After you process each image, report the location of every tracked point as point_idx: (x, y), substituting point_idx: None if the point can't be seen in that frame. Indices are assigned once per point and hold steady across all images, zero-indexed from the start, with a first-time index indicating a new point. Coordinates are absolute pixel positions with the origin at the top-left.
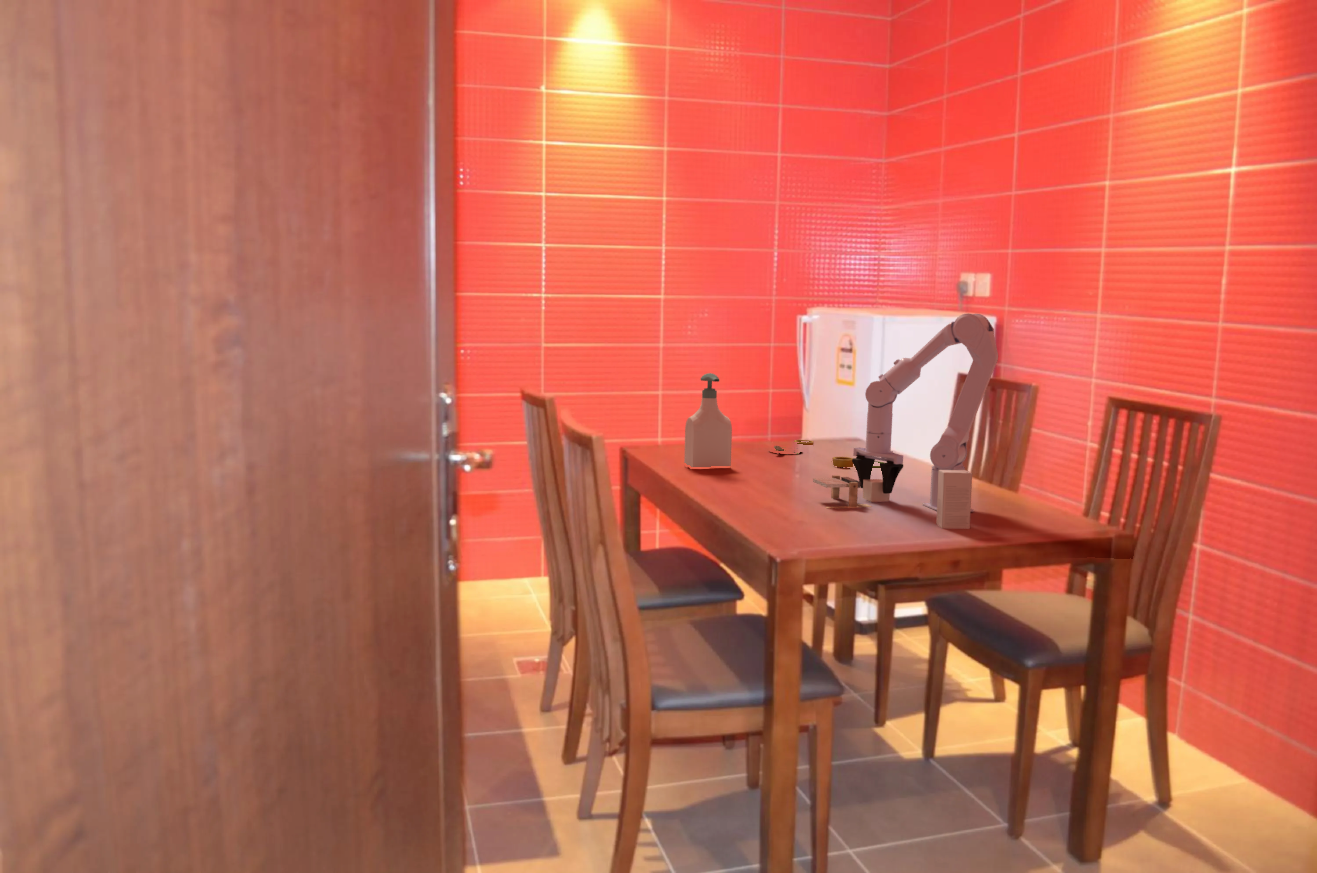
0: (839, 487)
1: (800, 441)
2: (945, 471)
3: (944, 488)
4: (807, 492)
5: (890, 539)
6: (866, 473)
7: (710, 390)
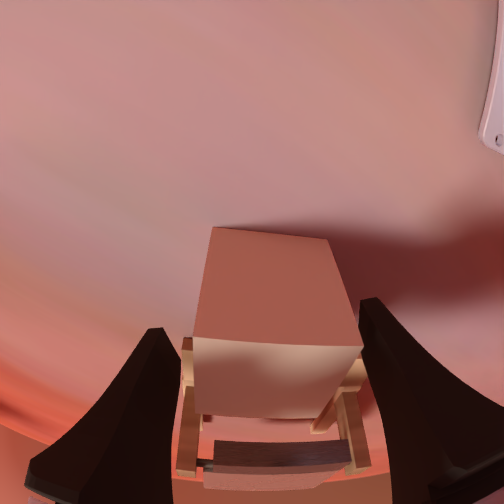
0: (197, 428)
1: None
2: None
3: None
4: (24, 354)
5: None
6: (148, 421)
7: None
